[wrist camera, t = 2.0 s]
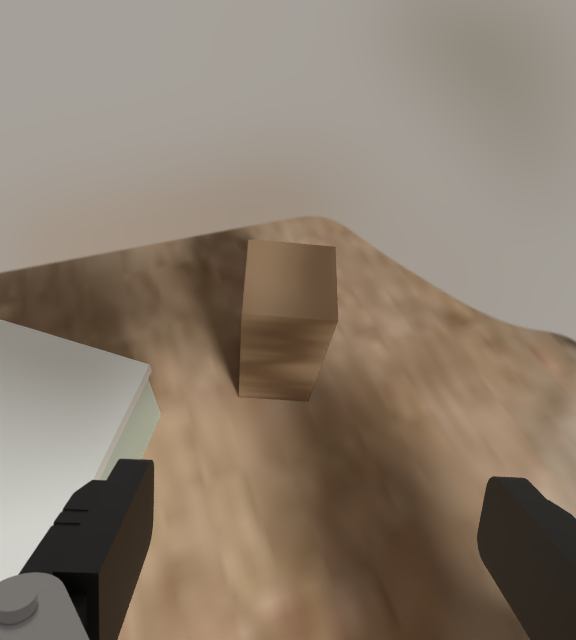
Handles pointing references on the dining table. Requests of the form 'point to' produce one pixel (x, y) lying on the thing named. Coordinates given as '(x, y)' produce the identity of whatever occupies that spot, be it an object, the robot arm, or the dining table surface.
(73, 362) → the storage box
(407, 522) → the dining table surface
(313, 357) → the walnut block
